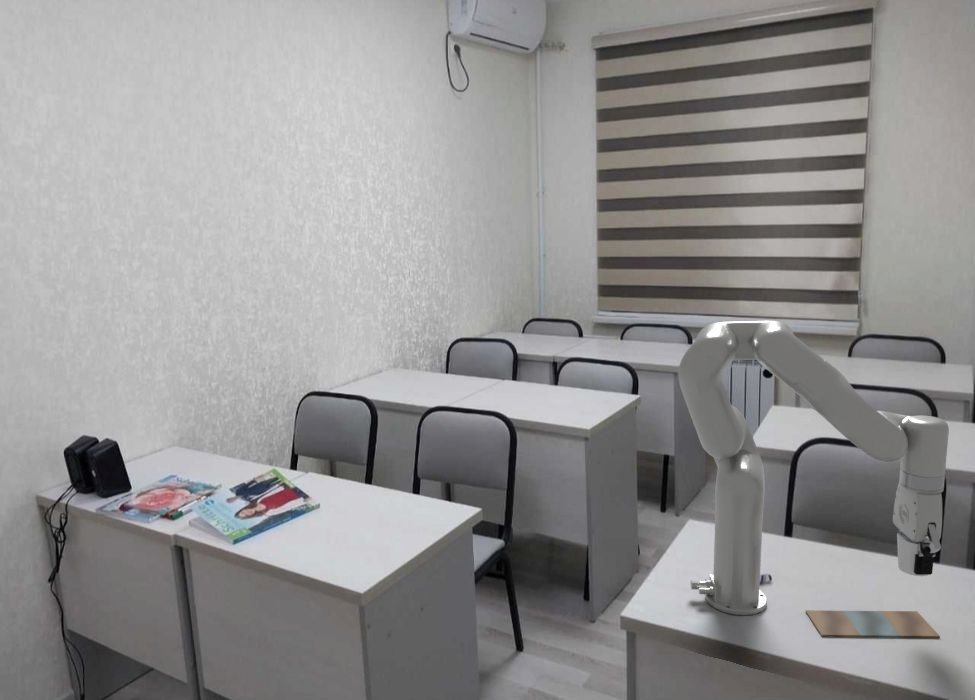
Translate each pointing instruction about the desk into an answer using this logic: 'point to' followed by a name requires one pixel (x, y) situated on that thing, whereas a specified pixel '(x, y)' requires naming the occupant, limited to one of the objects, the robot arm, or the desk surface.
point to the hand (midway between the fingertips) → (914, 564)
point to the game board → (871, 624)
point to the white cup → (907, 553)
